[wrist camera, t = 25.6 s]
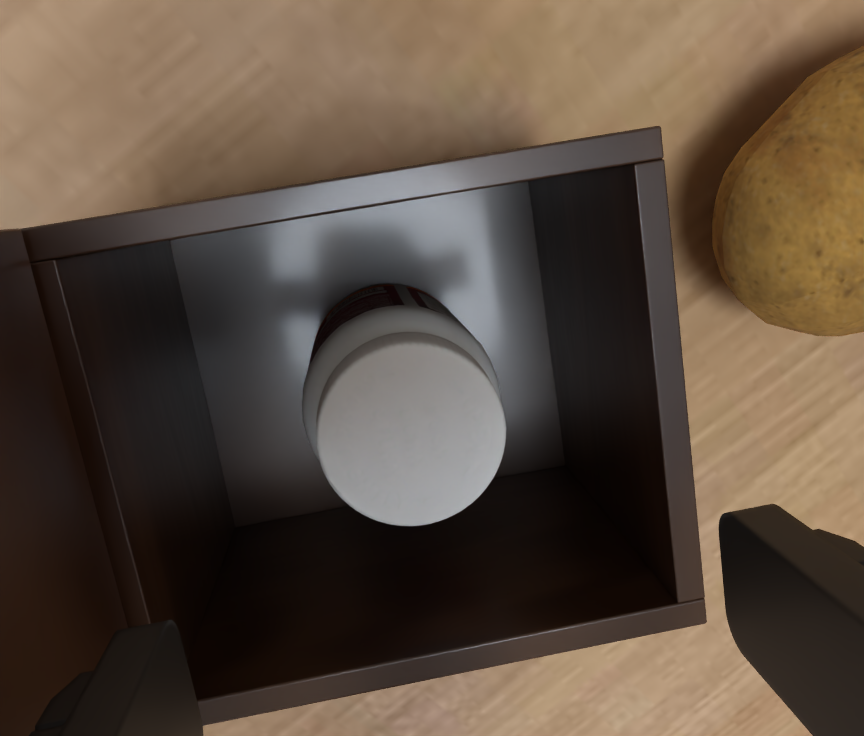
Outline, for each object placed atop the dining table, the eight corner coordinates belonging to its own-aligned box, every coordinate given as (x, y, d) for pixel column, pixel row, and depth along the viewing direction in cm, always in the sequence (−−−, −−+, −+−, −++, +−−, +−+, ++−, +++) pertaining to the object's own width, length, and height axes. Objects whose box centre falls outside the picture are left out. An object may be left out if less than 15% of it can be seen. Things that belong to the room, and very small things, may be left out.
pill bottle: (301, 418, 32) (276, 531, 21) (326, 268, 31) (313, 305, 20) (449, 441, 33) (499, 561, 22) (479, 296, 32) (546, 345, 21)
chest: (540, 155, 32) (661, 124, 19) (580, 473, 35) (708, 624, 22) (148, 218, 31) (11, 230, 18) (223, 540, 34) (149, 737, 21)
